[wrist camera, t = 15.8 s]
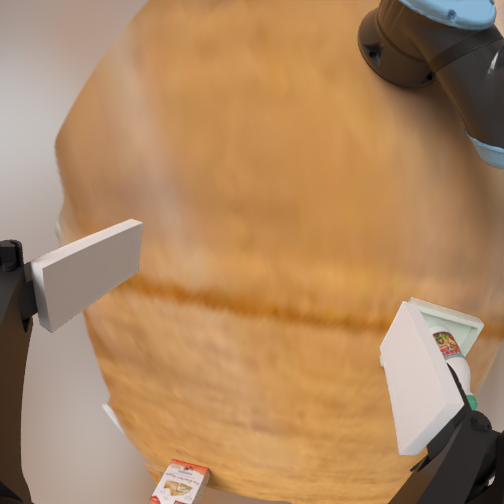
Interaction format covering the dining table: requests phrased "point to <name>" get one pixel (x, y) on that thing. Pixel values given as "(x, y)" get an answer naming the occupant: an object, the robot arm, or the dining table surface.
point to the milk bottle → (454, 359)
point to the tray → (450, 323)
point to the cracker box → (181, 484)
